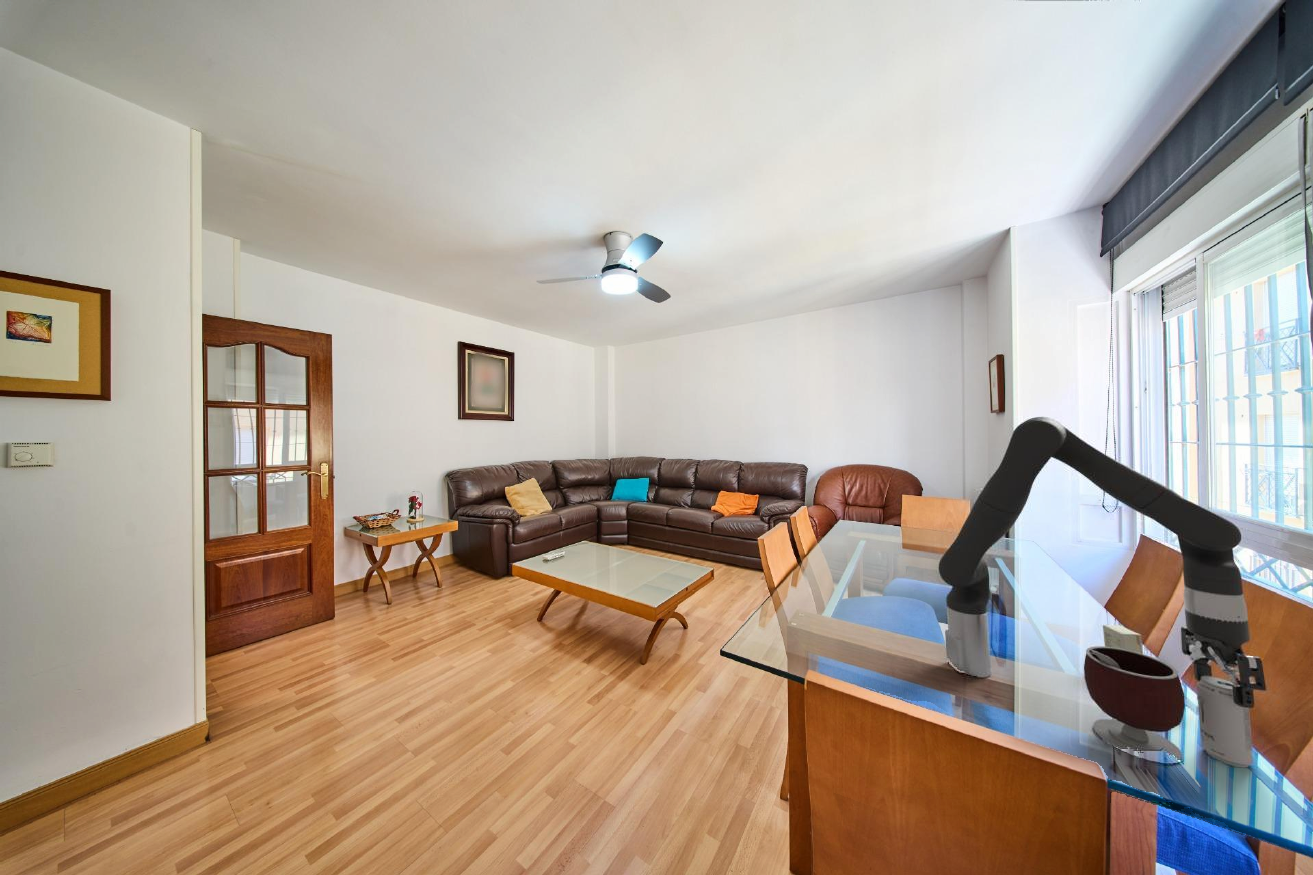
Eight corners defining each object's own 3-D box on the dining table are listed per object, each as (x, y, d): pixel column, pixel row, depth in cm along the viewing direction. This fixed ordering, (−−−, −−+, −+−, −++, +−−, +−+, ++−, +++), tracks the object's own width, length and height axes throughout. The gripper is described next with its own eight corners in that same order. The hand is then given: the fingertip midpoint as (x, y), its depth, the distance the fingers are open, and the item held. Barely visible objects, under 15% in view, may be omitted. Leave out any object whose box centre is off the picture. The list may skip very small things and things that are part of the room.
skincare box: (1146, 682, 105) (1143, 635, 106) (1126, 681, 106) (1123, 634, 107) (1123, 668, 112) (1120, 624, 112) (1105, 667, 113) (1101, 623, 113)
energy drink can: (1198, 742, 85) (1192, 670, 85) (1248, 756, 81) (1242, 681, 81) (1205, 758, 81) (1199, 683, 81) (1258, 774, 76) (1252, 695, 77)
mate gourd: (1127, 717, 93) (1120, 630, 93) (1212, 764, 79) (1204, 662, 80) (1063, 722, 92) (1057, 634, 93) (1137, 770, 79) (1129, 667, 79)
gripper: (1280, 629, 73) (1289, 719, 73) (1209, 600, 87) (1216, 677, 86) (1221, 624, 76) (1230, 711, 75) (1160, 597, 89) (1167, 671, 89)
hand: (1222, 693), depth 81 cm, fingers open, 8 cm apart
